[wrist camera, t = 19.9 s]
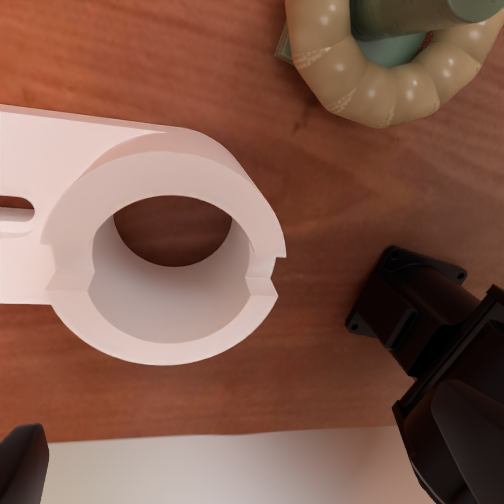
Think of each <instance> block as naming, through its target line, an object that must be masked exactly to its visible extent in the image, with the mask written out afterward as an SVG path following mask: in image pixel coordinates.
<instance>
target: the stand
mask: <svg viewBox="0 0 504 504" xmlns="http://www.w3.org/2000/svg"><path fill="white" fill-rule="evenodd" d="M349 7H350V23H351V34H352V35H353V37H354V39H355V40H356V42H357V44H358V45H359V47H360V49H361V50H362V52H363V54H364V55H365V57H366V59H368V60H370V61H373V62H375V63H377V64H379V65H382V66H384V67H386V68H390V67H394V66H398V65H402V64H406V63H409V62H410V61H412V60H413V59H414V58H415V57H416V56H417V54H418V52H419V50H420V48H421V46H422V44H423V41H424V39H425V37H426V35H427V33H428V31H434V30H440V29H445V28H451V27H456V26H462V25H468V24H473V23H479V22H483V21H485V20H487V19H489V18H491V17H493V16H494V15H495V14H497V13H498V12H499V11H500V10H501V9H502V8H504V0H349ZM274 57H276V58H279V59H281V60H283V61H285V62H287V63H289V64H291V65H294V63H293V59H292V55H291V47H290V40H289V32H288V25H287V19H286V22H285V25H284V28H283V30H282V33H281V36H280V39H279V42H278V45H277V47H276V50H275V53H274ZM294 66H295V65H294Z"/></svg>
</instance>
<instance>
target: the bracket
mask: <svg viewBox="0 0 504 504" xmlns="http://www.w3.org/2000/svg"><path fill="white" fill-rule="evenodd" d="M0 195H3V196H16V197H22V198H25V199H27V200H28V201H30V202H31V204H32V205H33V207H34V209H21V208H7V207H0V303H5V304H51V306H52V307H53V309H54V310H55V312H56V314H57V315H58V316H59V317H60V319H61V320H62V321H63V323H64V324H65V325H66V326H67V327H68V328H69V329H70V330H71V331H72V332H73V333H75V334H76V335H77V336H78V337H79V338H81V339H82V340H83V341H85V342H86V343H88V344H89V345H91V346H92V347H94V348H96V349H98V350H100V351H102V352H104V353H106V354H108V355H111V356H113V357H116V358H119V359H122V360H126V361H130V362H134V363H140V364H147V365H178V364H186V363H191V362H196V361H199V360H203V359H206V358H209V357H212V356H214V355H217V354H219V353H221V352H223V351H226V350H227V349H229V348H231V347H233V346H234V345H236V344H237V343H239V342H240V341H242V340H243V339H245V338H246V337H247V336H248V335H249V334H251V333H252V332H253V331H254V330H255V329H256V328H257V327H258V326H259V325H260V324H261V323H262V321H263V320H264V319H265V318H266V316H267V315H268V313H269V312H270V311H271V309H272V307H273V306H274V304H275V302H276V300H277V298H278V294H277V292H276V290H275V288H274V286H273V284H272V282H271V279H270V277H271V275H272V272H273V268H274V264H275V260H276V257H286V248H285V241H284V237H283V233H282V230H281V227H280V224H279V221H278V219H277V217H276V215H275V213H274V211H273V210H272V208H271V206H270V205H269V203H268V202H267V200H266V199H265V198H264V196H263V195H262V194H261V192H260V191H259V190H258V188H257V187H256V185H255V184H254V183H253V181H252V180H251V179H250V177H249V176H248V175H247V173H246V172H245V170H244V169H243V168H242V166H241V165H240V164H239V162H238V161H237V160H236V158H235V157H234V156H233V155H232V154H231V153H230V152H229V151H228V150H227V149H226V148H225V147H224V146H222V145H221V144H220V143H218V142H217V141H215V140H214V139H212V138H210V137H208V136H207V135H205V134H202V133H200V132H197V131H195V130H191V129H188V128H181V127H173V126H166V125H158V124H150V123H143V122H135V121H127V120H119V119H112V118H104V117H96V116H89V115H81V114H73V113H66V112H58V111H50V110H42V109H35V108H27V107H19V106H12V105H4V104H0ZM162 195H179V196H188V197H193V198H197V199H200V200H203V201H206V202H208V203H211V204H213V205H215V206H217V207H219V208H220V209H222V210H223V211H225V212H226V213H228V214H229V215H230V216H231V217H232V223H231V227H230V230H229V233H228V235H227V237H226V239H225V241H224V242H223V243H222V245H221V246H220V247H219V248H218V249H217V250H216V251H215V252H214V253H213V254H212V255H210V256H209V257H208V258H206V259H204V260H202V261H200V262H198V263H195V264H192V265H188V266H182V267H166V266H160V265H156V264H153V263H150V262H148V261H146V260H144V259H142V258H140V257H139V256H137V255H136V254H135V253H133V252H132V251H131V250H130V249H129V248H128V247H127V246H126V245H125V243H124V242H123V241H122V239H121V237H120V236H119V234H118V231H117V229H116V226H115V223H114V218H113V214H114V213H115V212H116V211H118V210H120V209H121V208H123V207H125V206H127V205H129V204H131V203H133V202H136V201H139V200H142V199H145V198H149V197H154V196H162Z"/></svg>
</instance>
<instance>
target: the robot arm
mask: <svg viewBox="0 0 504 504" xmlns="http://www.w3.org/2000/svg"><path fill="white" fill-rule="evenodd" d="M394 252H395V254H394V256H392V257H391V255H392V254H393V253H394ZM466 277H467V271H466V270H464V269H463V268H461V267H459V266H456V265H453V264H450V263H447V262H443V261H440V260H437V259H434V258H431V257H428V256H425V255H422V254H419V253H416V252H412V251H409V250H406V249H403V248H400V247H397V246H390V247H389V248H387V249H386V251H385V252H384V254H383V256H382V258H381V259H380V261H379V263H378V265H377V267H376V269H375V270H374V272H373V274H372V276H371V278H370V279H369V281H368V283H367V285H366V287H365V288H364V290H363V292H362V294H361V296H360V297H359V299H358V301H357V303H356V305H355V306H354V308H353V310H352V312H351V314H350V315H349V317H348V319H347V321H346V323H345V327H346V328H347V329H348V331H349V332H351V333H355V334H359V335H364V336H369V337H373V338H378V340H379V341H380V342H381V344H382V345H383V346H384V347H385V348H386V349H388V351H389V352H390V353H391V354H392V356H393V357H394V358H395V360H396V361H397V362H398V363H399V365H400V366H401V367H402V369H403V370H404V371H405V372H406V374H407V375H408V376H411V377H412V378H413V379H414V380H415V382H414V384H413V385H412V386H411V387H410V388H409V390H408V391H407V392H406V393H405V395H404V396H403V397H402V398H401V399H400V400H397V401H396V403H395V404H394V405H393V406H392V411H393V414H394V416H395V419H396V422H397V425H398V428H399V431H400V434H401V437H402V440H403V442H404V445H405V448H406V451H407V454H408V457H409V460H410V463H411V465H412V468H413V470H414V473H415V475H416V477H417V479H418V481H419V484H420V485H421V487H422V488H423V489H424V490H425V491H426V492H427V493H428V495H429V496H430V497H431V498H432V499H433V501H434V502H435V503H436V504H504V289H502V288H500V287H498V286H496V285H494V284H493V285H492V286H491V287H490V288H489V290H488V291H487V292H486V293H487V295H486V296H485V298H484V299H483V300H482V301H480V300H479V299H477V298H476V297H475V296H473V295H472V294H471V293H469V292H468V291H467V290H465V289H464V288H463V287H461V285H462V283H463V282H464V280H465V279H466ZM353 324H355V325H354V326H352V325H353ZM48 462H49V448H48V444H47V441H46V437H45V433H44V429H43V426H42V425H41V424H40V423H34V424H25V425H19V426H17V427H16V428H15V429H13V430H12V431H11V432H10V433H9V434H8V435H7V436H6V437H5V438H4V439H3V441H2V442H1V443H0V504H40V501H41V496H42V491H43V486H44V482H45V477H46V472H47V467H48Z"/></svg>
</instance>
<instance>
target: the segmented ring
mask: <svg viewBox="0 0 504 504" xmlns="http://www.w3.org/2000/svg"><path fill="white" fill-rule="evenodd" d="M284 1H285V10H286V17H287V25H288V32H289V40H290V47H291V55H292V59H293V63H294V65H295V67H296V69H297V71H298V72H299V73H300V75H301V76H302V78H303V79H304V80H305V82H306V83H307V85H308V86H309V87H310V89H311V90H312V92H313V93H314V94H315V96H316V97H317V99H318V100H319V101H320V103H321V104H322V105H323V107H324V108H325V109H326V110H328V111H329V112H331V113H333V114H335V115H338V116H341V117H343V118H346V119H349V120H351V121H354V122H357V123H360V124H362V125H365V126H368V127H371V128H385V127H389V126H393V125H397V124H401V123H405V122H409V121H413V120H417V119H421V118H424V117H427V116H429V115H431V114H433V113H434V112H436V111H437V110H438V109H439V108H440V107H442V106H443V105H444V104H445V103H446V102H447V101H448V100H449V99H451V98H452V97H453V96H454V95H455V94H456V93H457V92H459V91H460V90H461V89H462V88H463V87H464V86H465V85H466V84H468V83H469V82H470V81H471V80H472V79H473V78H474V77H475V76H476V75H477V74H478V72H479V70H480V69H481V67H482V65H483V63H484V61H485V59H486V57H487V55H488V54H489V52H490V50H491V48H492V46H493V44H494V42H495V40H496V38H497V36H498V34H499V32H500V30H501V28H502V26H503V24H504V8H502V9H501V10H500V11H499V12H498V13H497V14H495V15H494V16H493V17H491V18H489V19H487V20H485V21H483V22H479V23H473V24H468V25H462V26H456V27H451V28H445V29H440V30H435V32H434V34H433V37H432V39H431V41H430V43H429V45H428V46H427V47H426V48H425V49H423V50H422V51H421V52H420V53H419V54H418V55H417V56H416V57H415V58H414V59H413V60H412V61H410V62H409V63H406V64H402V65H398V66H394V67H390V68H386V67H384V66H382V65H379V64H377V63H375V62H373V61H370V60H368V59H366V57H365V55H364V54H363V52H362V50H361V49H360V47H359V45H358V44H357V42H356V40H355V39H354V37H353V35H352V34H351V23H350V7H349V0H284Z"/></svg>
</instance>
